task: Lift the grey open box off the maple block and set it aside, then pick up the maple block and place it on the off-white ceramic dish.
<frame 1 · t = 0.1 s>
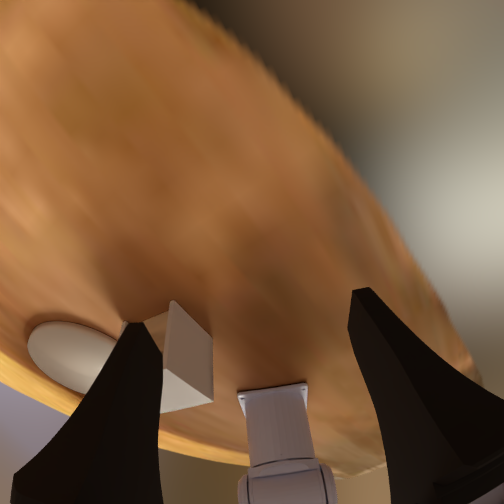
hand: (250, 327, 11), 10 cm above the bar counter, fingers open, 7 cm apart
grey open box: (167, 330, 25), on the bar counter
maple block: (167, 329, 26), on the bar counter
ceramic dish: (84, 361, 28), on the bar counter
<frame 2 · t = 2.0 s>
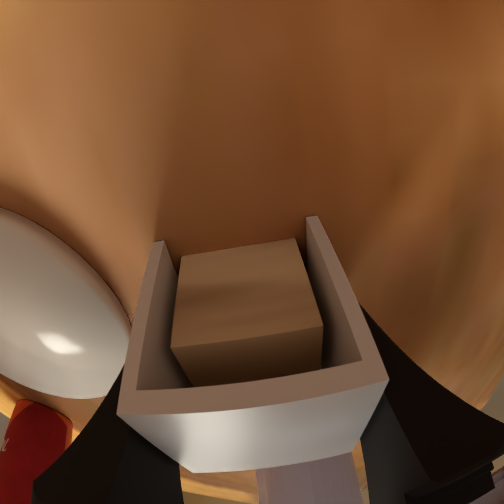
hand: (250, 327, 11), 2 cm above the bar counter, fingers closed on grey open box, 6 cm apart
grey open box: (246, 289, 12), on the bar counter, touching gripper
maple block: (245, 287, 12), on the bar counter
paper cup: (45, 413, 20), on the bar counter
ceramic dish: (18, 317, 12), on the bar counter
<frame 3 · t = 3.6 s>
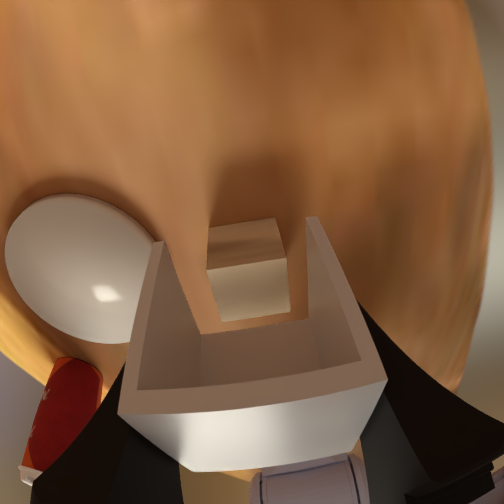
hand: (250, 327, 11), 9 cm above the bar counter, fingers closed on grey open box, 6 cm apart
grey open box: (246, 289, 12), point 7 cm above the bar counter, touching gripper
maple block: (246, 248, 20), on the bar counter
paper cup: (79, 370, 28), on the bar counter
ceramic dish: (84, 275, 20), on the bar counter
when the fingers open (3 cm above the bar counter, at t = 5.6 s): grey open box stays where it is, on the bar counter.
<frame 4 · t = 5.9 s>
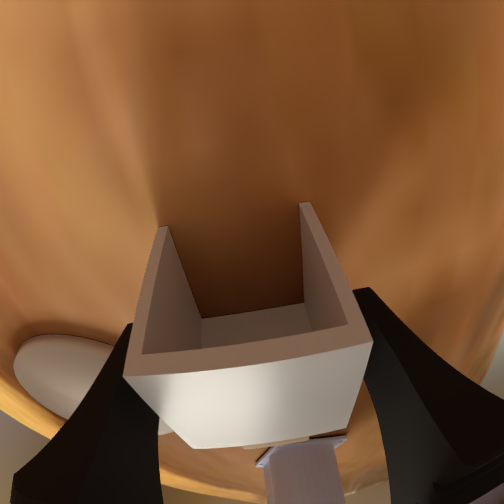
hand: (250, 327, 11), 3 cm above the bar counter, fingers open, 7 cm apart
grey open box: (244, 272, 13), on the bar counter
ceramic dish: (99, 391, 18), on the bar counter
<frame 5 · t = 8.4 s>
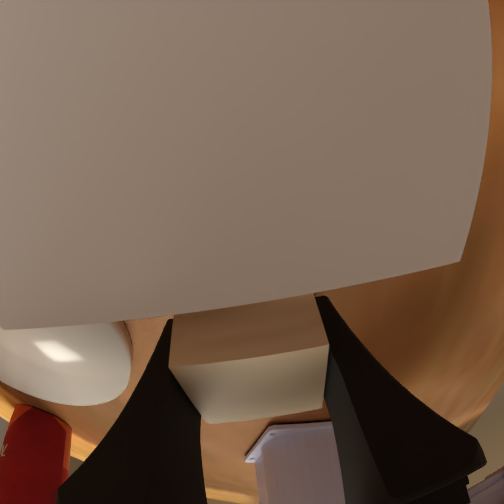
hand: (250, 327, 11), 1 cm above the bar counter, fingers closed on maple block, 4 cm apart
grey open box: (195, 33, 6), on the bar counter
maple block: (247, 298, 12), on the bar counter, touching gripper
paper cup: (44, 417, 20), on the bar counter
ceramic dish: (14, 324, 12), on the bar counter
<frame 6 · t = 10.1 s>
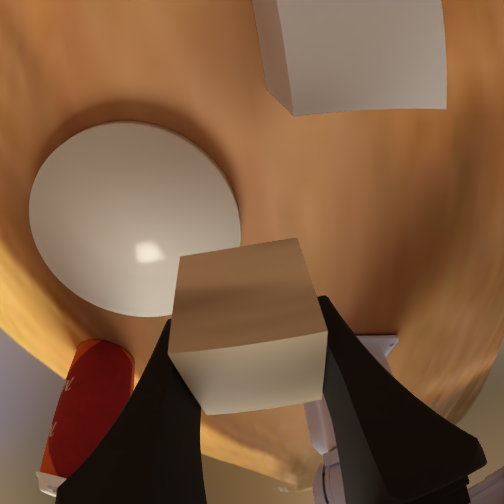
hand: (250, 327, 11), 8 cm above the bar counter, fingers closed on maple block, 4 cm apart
grey open box: (316, 31, 12), on the bar counter
maple block: (246, 289, 12), point 7 cm above the bar counter, touching gripper
paper cup: (106, 356, 25), on the bar counter
ceramic dish: (129, 229, 17), on the bar counter
when the fingers open (4 cm above the bar counter, at t = 11.7 s): maple block drops 1 cm, resting on ceramic dish.
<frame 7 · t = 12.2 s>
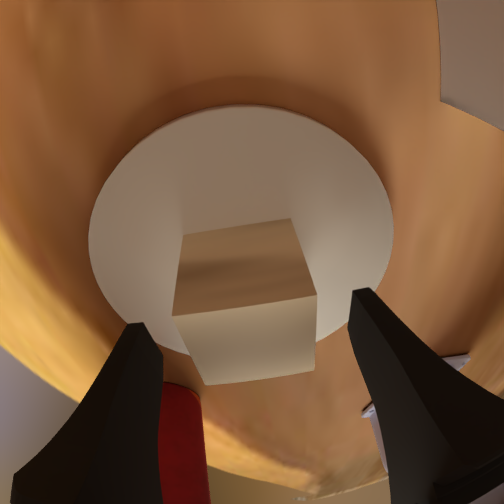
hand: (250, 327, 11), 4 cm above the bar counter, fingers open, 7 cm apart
grey open box: (485, 47, 8), on the bar counter
maple block: (244, 267, 13), point 1 cm above the bar counter, touching ceramic dish
paper cup: (164, 396, 21), on the bar counter
ceramic dish: (242, 257, 14), on the bar counter
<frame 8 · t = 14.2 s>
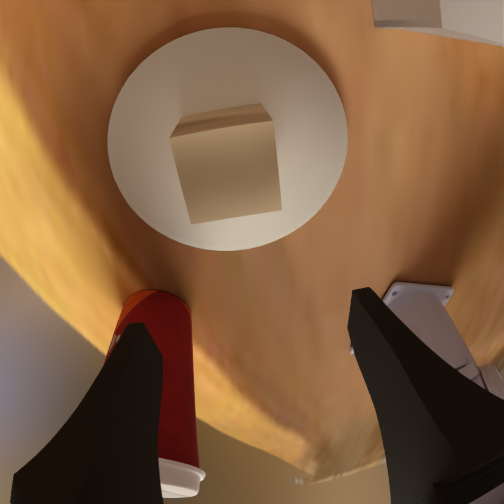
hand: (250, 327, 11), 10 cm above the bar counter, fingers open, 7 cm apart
maple block: (227, 145, 16), point 1 cm above the bar counter, touching ceramic dish
paper cup: (157, 312, 24), on the bar counter
ceramic dish: (227, 144, 16), on the bar counter
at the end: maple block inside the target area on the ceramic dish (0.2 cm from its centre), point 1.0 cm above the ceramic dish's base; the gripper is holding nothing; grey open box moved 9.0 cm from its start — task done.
